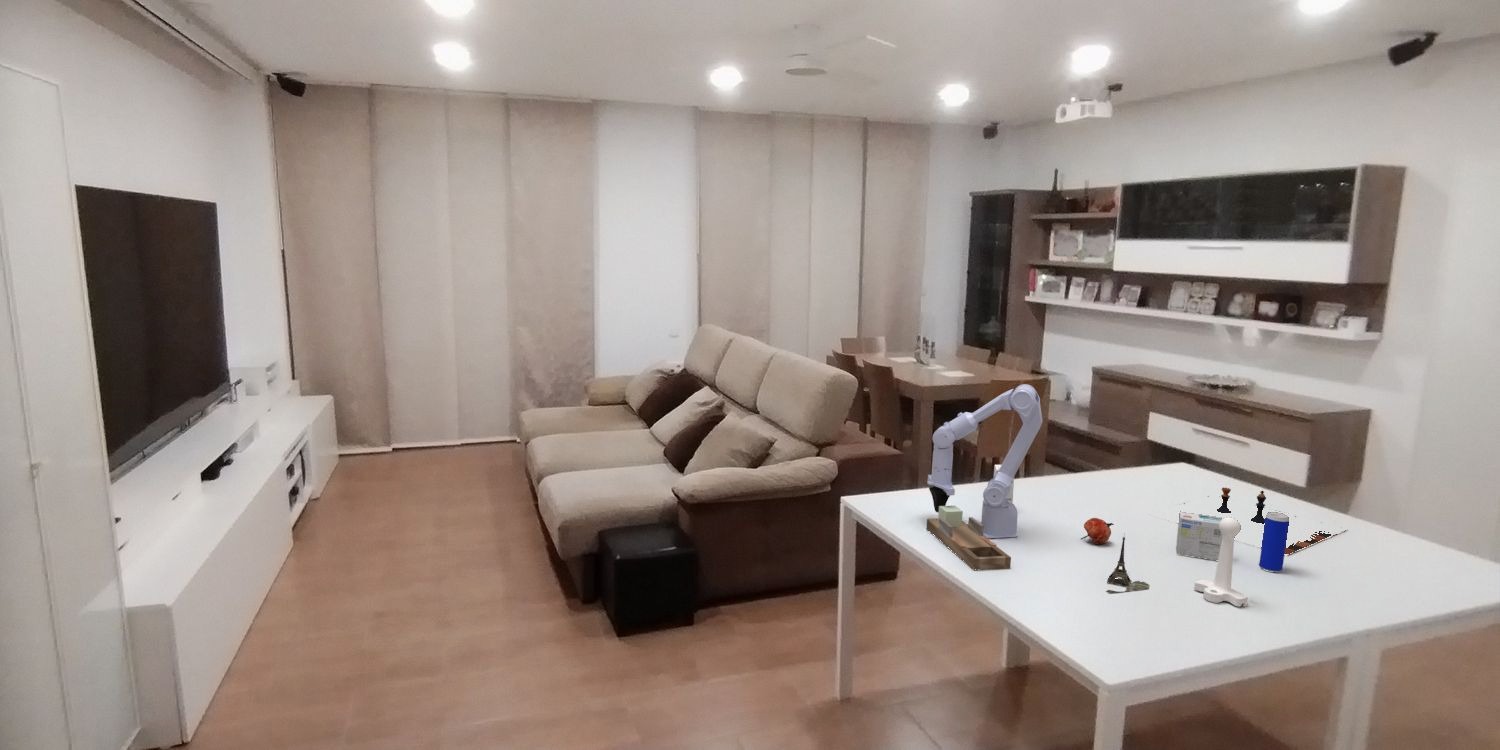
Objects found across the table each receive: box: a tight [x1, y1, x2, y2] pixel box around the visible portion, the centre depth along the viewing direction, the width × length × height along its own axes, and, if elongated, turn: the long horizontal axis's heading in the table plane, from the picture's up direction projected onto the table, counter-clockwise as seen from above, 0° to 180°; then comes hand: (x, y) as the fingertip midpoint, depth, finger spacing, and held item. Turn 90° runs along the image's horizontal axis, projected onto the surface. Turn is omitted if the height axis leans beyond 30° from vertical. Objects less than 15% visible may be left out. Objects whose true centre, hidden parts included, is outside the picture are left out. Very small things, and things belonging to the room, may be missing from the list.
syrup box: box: [993, 464, 1015, 504], centre depth 253 cm, size 6×6×14 cm
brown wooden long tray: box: [926, 516, 1012, 571], centre depth 222 cm, size 10×30×6 cm, turn 11°
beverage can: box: [1258, 512, 1289, 573], centre depth 212 cm, size 5×5×15 cm
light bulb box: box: [1175, 511, 1223, 561], centre depth 221 cm, size 11×7×11 cm, turn 65°
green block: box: [937, 505, 964, 527], centre depth 232 cm, size 5×5×4 cm
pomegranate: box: [1080, 517, 1115, 545], centre depth 229 cm, size 7×7×10 cm
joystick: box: [1193, 517, 1248, 607], centre depth 192 cm, size 11×8×20 cm
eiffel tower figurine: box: [1105, 532, 1151, 595], centre depth 201 cm, size 15×10×13 cm
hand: (939, 511), depth 240 cm, fingers closed
